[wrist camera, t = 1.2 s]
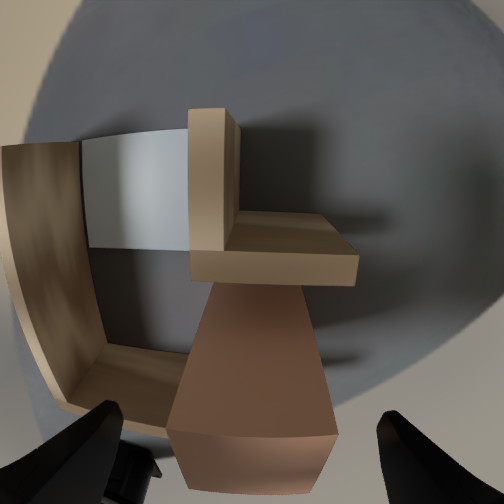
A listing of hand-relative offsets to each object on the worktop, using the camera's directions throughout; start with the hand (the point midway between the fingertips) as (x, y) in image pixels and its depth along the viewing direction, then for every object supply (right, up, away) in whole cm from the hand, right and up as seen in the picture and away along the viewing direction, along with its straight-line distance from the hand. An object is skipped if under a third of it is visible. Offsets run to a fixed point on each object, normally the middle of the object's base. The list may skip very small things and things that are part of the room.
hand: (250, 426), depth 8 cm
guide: (-4, +5, +7) cm, 9 cm away
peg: (0, +3, +8) cm, 8 cm away
